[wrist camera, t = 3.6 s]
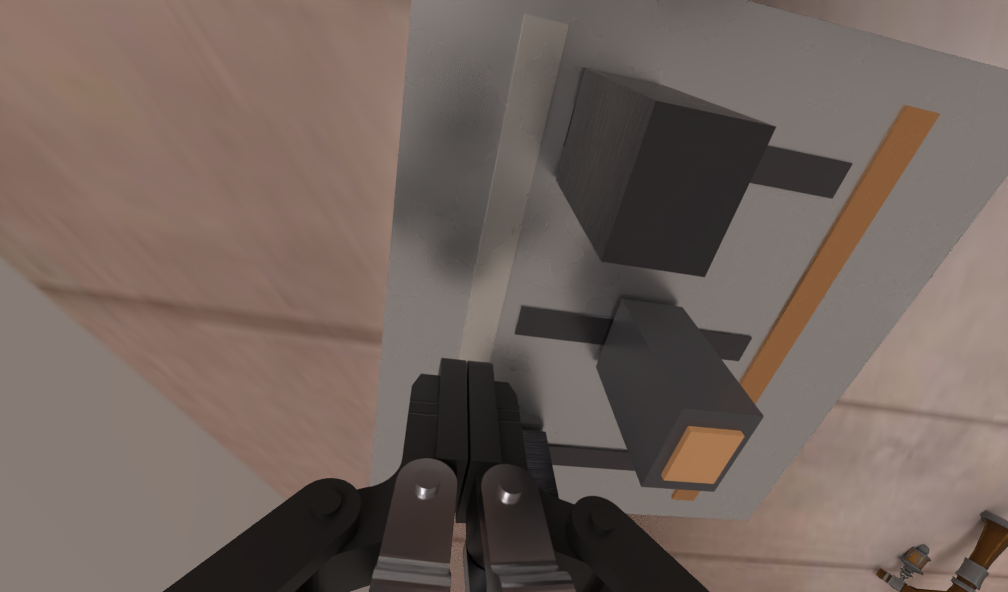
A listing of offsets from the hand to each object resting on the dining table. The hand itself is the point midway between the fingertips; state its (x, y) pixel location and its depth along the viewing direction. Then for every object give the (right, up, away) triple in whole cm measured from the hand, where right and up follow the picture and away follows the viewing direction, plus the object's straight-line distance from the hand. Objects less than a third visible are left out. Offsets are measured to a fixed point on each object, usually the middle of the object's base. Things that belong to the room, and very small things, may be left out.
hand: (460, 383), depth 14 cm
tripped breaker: (+6, +1, +4) cm, 8 cm away
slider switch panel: (+7, +2, +6) cm, 9 cm away
